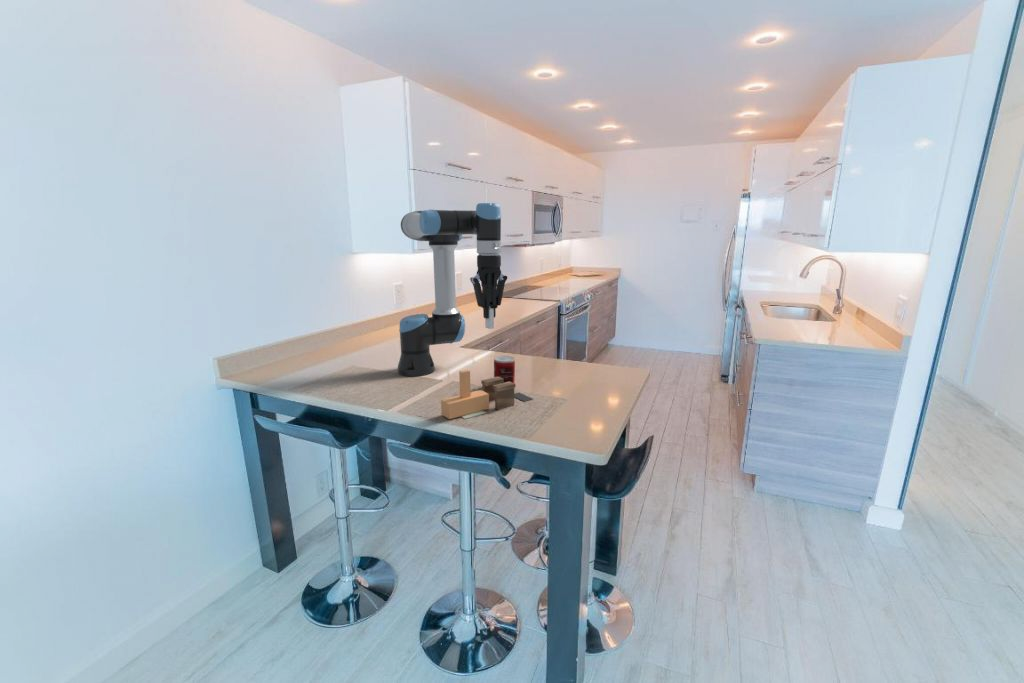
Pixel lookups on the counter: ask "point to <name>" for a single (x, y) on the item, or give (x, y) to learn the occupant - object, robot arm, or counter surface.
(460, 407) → the tan inverted t block
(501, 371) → the canned food
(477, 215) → the robot arm
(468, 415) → the pad
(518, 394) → the pit patch
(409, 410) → the counter surface
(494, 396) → the dark brown box
